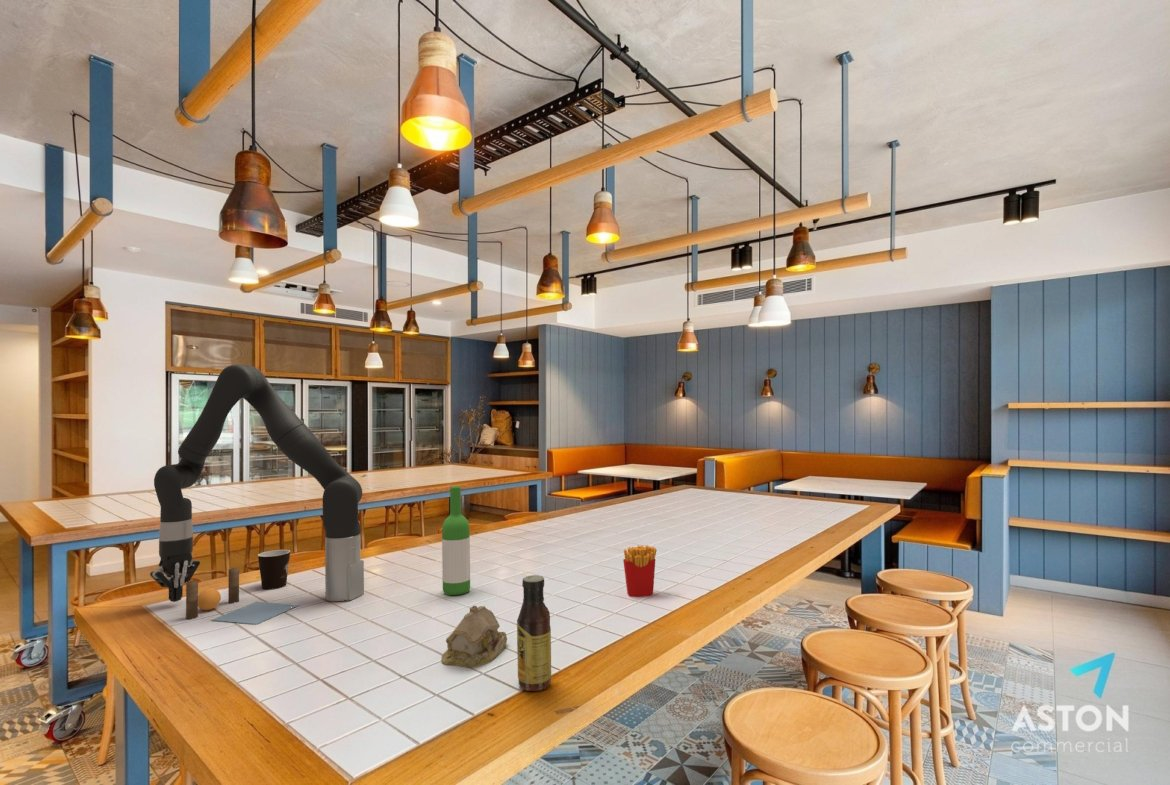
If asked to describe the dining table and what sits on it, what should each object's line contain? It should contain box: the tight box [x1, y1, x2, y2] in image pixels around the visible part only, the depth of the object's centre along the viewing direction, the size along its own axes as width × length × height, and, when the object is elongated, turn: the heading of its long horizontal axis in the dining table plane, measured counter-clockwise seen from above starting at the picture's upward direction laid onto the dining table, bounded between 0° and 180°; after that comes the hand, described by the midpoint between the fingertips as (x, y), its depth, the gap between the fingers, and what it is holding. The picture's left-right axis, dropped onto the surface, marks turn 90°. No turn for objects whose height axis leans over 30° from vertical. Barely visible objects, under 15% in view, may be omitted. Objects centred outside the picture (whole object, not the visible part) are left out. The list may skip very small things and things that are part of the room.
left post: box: [185, 580, 199, 620], centre depth 144 cm, size 2×2×9 cm
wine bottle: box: [441, 485, 471, 596], centre depth 161 cm, size 8×8×30 cm
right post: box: [227, 567, 240, 604], centre depth 156 cm, size 2×2×9 cm
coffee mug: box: [257, 549, 291, 591], centre depth 172 cm, size 12×9×10 cm
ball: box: [198, 587, 222, 611], centre depth 150 cm, size 6×6×6 cm
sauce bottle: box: [516, 574, 552, 692], centre depth 104 cm, size 6×6×20 cm
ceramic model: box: [440, 605, 508, 668], centre depth 119 cm, size 14×11×10 cm
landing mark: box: [211, 601, 299, 625], centre depth 147 cm, size 14×14×1 cm
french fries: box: [622, 544, 657, 598], centre depth 156 cm, size 9×4×13 cm, turn 100°
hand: (175, 600), depth 154 cm, fingers closed
